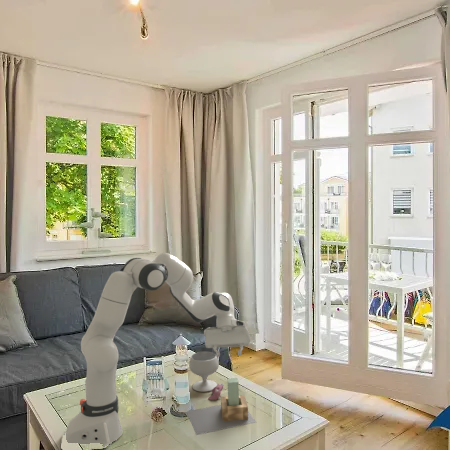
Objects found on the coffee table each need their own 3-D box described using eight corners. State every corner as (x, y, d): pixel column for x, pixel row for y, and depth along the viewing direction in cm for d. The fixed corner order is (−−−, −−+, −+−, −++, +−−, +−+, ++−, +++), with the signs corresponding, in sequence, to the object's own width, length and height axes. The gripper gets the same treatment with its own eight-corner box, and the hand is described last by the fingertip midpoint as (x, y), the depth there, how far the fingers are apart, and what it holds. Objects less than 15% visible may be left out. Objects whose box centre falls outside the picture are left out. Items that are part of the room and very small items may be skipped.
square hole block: (223, 421, 161) (222, 408, 160) (221, 408, 171) (220, 396, 170) (248, 419, 162) (247, 407, 161) (244, 406, 172) (244, 395, 171)
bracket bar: (229, 416, 164) (228, 382, 163) (228, 411, 168) (227, 378, 167) (239, 415, 164) (238, 382, 163) (238, 410, 168) (237, 377, 167)
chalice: (219, 393, 187) (218, 361, 186) (188, 394, 187) (187, 362, 187) (219, 379, 201) (218, 350, 200) (191, 380, 201) (190, 350, 201)
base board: (196, 438, 152) (196, 434, 152) (186, 414, 169) (186, 411, 169) (256, 425, 159) (256, 421, 159) (240, 404, 177) (240, 400, 176)
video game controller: (215, 407, 178) (222, 393, 177) (206, 401, 179) (213, 388, 178) (220, 396, 188) (226, 383, 187) (211, 391, 188) (217, 378, 187)
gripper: (203, 324, 183) (205, 354, 174) (248, 322, 185) (252, 351, 176) (203, 331, 188) (205, 360, 178) (247, 328, 189) (251, 357, 180)
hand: (229, 355), depth 177 cm, fingers open, 8 cm apart
